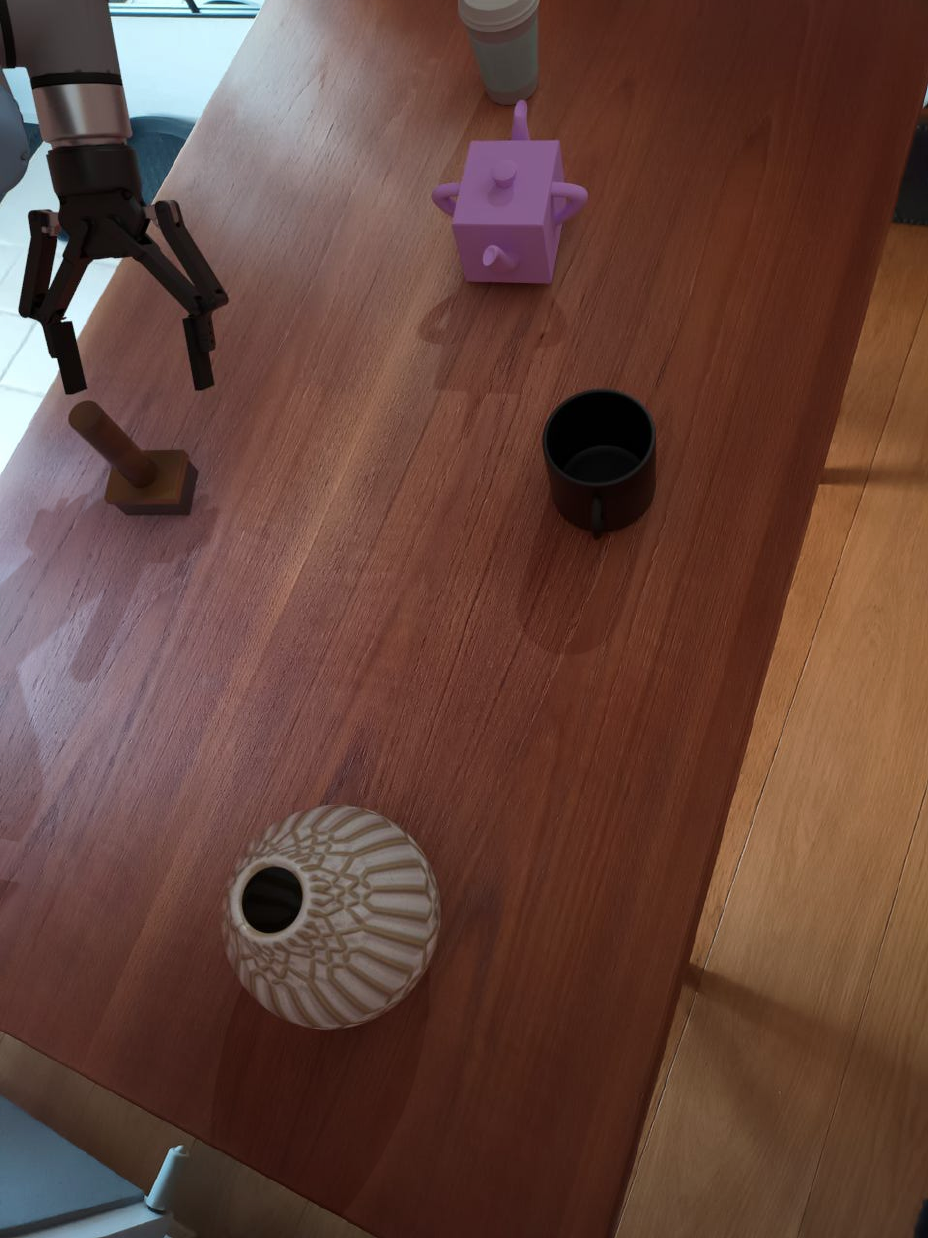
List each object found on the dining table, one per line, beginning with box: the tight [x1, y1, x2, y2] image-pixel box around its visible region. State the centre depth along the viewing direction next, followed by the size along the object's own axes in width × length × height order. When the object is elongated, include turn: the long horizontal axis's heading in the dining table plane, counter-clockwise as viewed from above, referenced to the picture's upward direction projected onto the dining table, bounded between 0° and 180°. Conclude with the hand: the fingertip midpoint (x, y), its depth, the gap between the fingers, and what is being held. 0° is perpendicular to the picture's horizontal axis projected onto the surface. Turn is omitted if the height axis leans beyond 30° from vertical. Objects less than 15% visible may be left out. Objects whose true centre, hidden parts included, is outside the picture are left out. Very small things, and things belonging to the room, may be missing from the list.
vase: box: [220, 804, 442, 1031], centre depth 69 cm, size 16×16×20 cm
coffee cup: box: [457, 0, 541, 106], centre depth 102 cm, size 8×8×12 cm
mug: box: [541, 388, 657, 541], centre depth 83 cm, size 9×12×9 cm
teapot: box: [431, 100, 589, 285], centre depth 94 cm, size 15×13×11 cm
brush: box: [67, 399, 199, 516], centre depth 90 cm, size 7×5×14 cm
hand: (139, 390), depth 92 cm, fingers open, 13 cm apart
